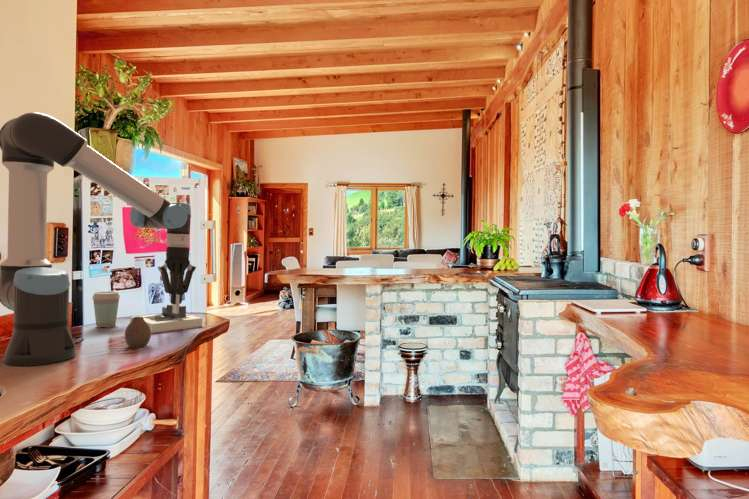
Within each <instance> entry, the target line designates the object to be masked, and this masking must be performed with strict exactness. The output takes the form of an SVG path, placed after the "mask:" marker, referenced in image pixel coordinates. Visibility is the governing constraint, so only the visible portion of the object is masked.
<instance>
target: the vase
mask: <svg viewBox="0 0 749 499" xmlns="http://www.w3.org/2000/svg"><path fill="white" fill-rule="evenodd" d="M133 317H134V318H133V320H132V321H131V323H130V322H129V323H128V325H127V327H126V328H125V331H124V341H125V343H126V345H127V346H128V347H129V348H131V349H140V348H141V349H142V348H144V347H146V346H147V345H148V344H149V343H150V340H151V336H152V333H151V330H150V327H149V325H148V324H147V323H146V322H145V321H144V319H143V317H135V316H133Z"/></svg>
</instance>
